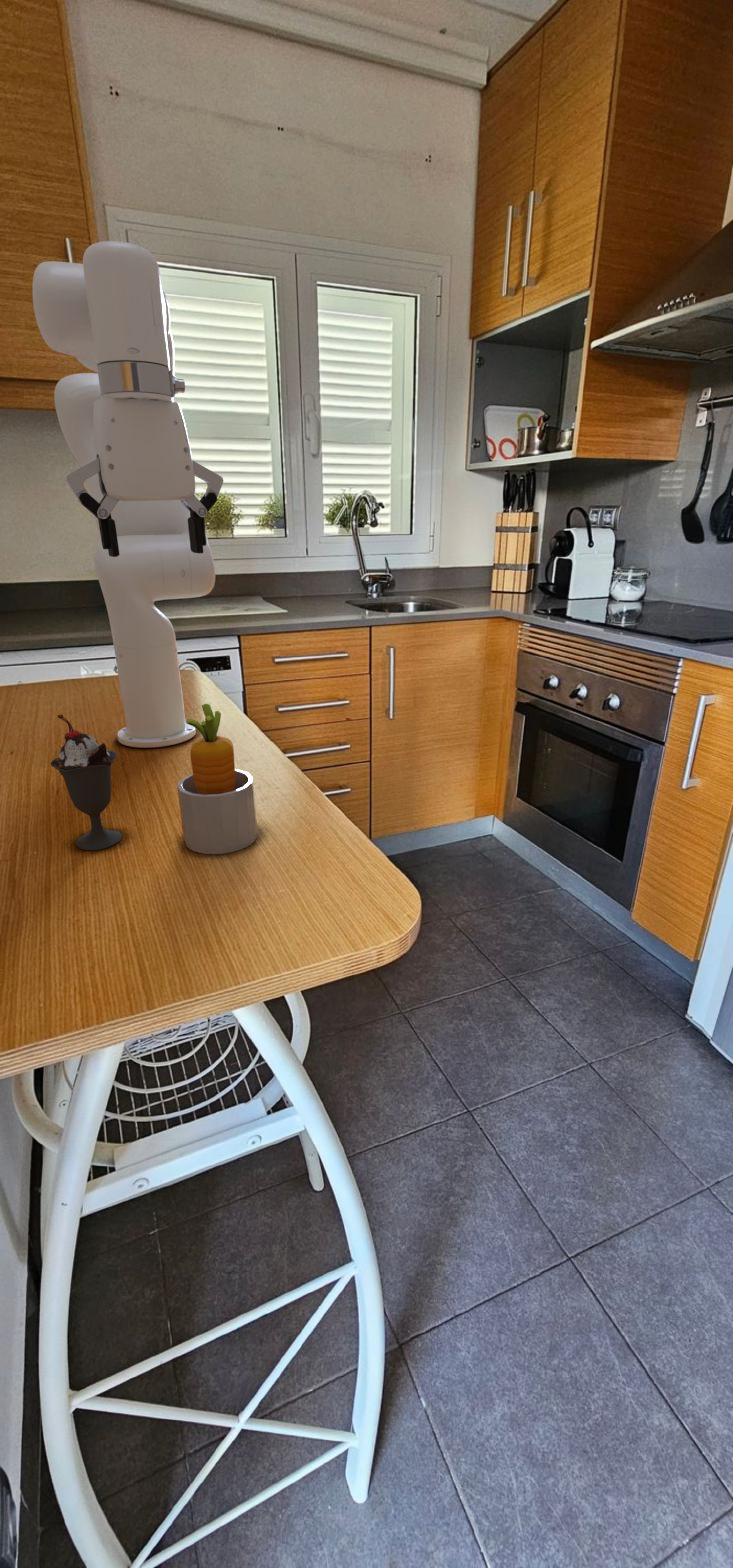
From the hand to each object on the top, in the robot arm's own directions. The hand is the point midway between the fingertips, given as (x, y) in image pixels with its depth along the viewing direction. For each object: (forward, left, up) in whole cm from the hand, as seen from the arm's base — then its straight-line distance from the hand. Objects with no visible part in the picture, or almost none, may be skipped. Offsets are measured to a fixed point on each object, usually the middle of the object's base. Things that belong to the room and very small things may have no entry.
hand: (156, 554), depth 80 cm
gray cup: (+16, 0, -30) cm, 34 cm away
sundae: (+10, -12, -31) cm, 34 cm away
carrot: (+16, 0, -30) cm, 34 cm away
